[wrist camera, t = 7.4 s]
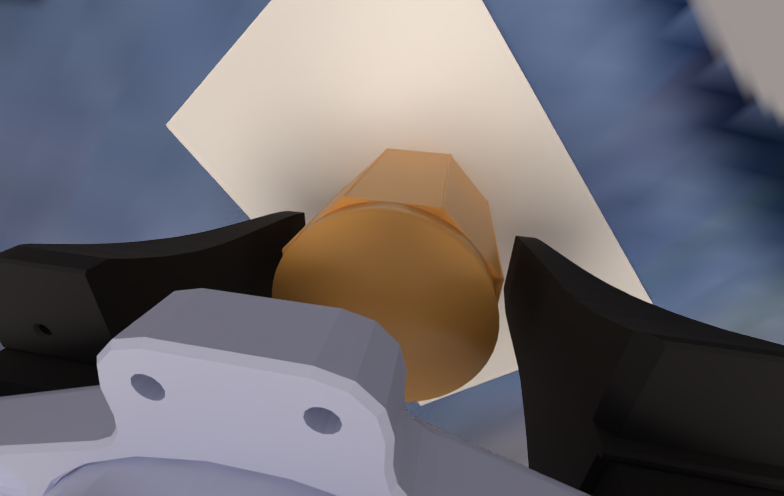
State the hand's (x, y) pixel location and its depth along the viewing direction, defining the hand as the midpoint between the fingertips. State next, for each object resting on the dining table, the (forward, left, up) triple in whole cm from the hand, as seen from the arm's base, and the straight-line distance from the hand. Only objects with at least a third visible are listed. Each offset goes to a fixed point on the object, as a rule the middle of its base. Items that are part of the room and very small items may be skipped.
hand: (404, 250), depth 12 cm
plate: (0, 0, -4) cm, 4 cm away
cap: (0, 0, -3) cm, 3 cm away
